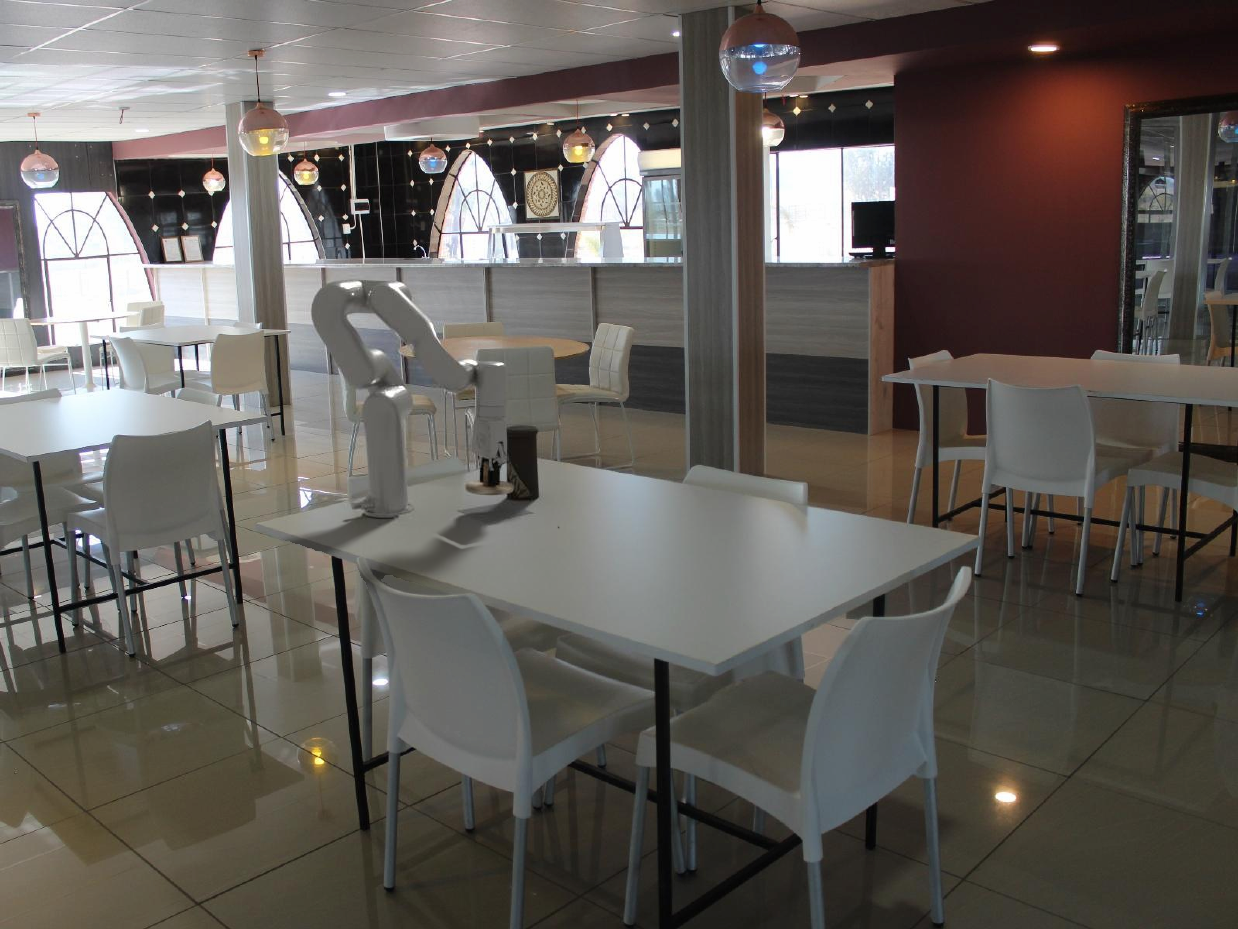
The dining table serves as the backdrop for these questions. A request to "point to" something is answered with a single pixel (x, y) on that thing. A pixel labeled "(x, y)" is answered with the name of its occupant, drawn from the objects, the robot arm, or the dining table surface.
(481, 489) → the lid
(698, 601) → the dining table surface
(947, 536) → the dining table surface
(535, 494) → the container
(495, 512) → the mat
